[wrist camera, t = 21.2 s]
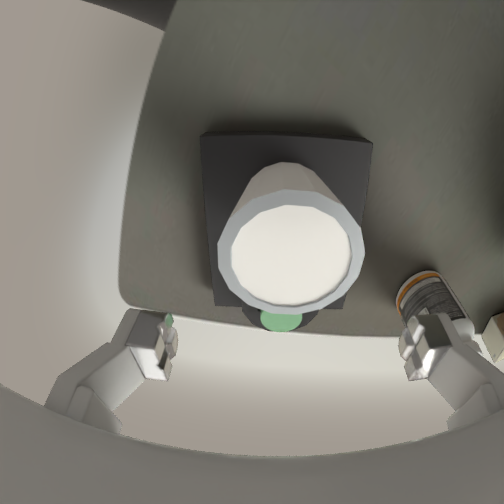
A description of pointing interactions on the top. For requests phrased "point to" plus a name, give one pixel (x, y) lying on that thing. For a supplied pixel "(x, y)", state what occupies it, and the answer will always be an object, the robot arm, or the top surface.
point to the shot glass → (289, 243)
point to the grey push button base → (265, 154)
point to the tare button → (280, 321)
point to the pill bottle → (434, 303)
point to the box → (495, 337)
